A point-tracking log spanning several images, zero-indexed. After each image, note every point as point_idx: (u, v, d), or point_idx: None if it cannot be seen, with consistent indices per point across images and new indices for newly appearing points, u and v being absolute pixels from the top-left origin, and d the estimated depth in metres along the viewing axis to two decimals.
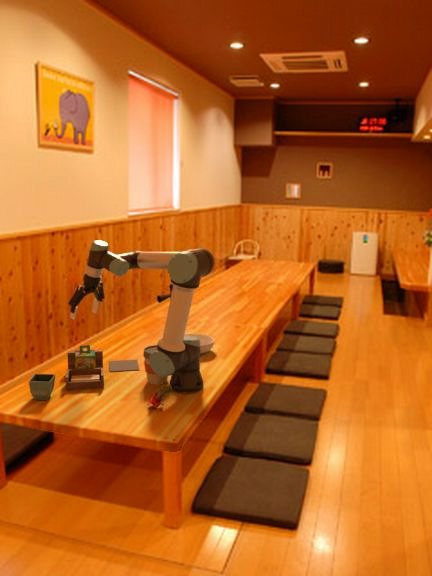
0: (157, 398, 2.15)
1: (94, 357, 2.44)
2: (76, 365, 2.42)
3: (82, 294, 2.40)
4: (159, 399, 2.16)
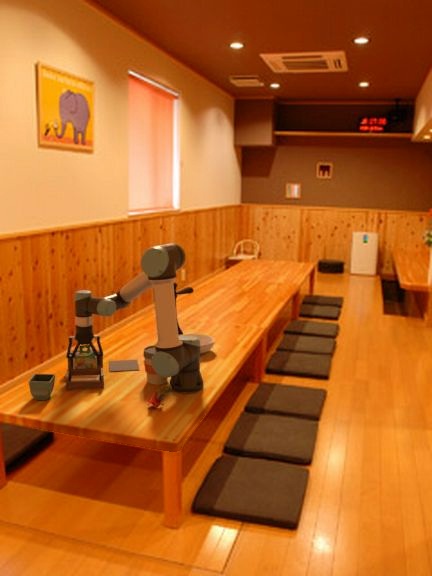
0: (157, 398, 2.15)
1: (94, 357, 2.44)
2: (76, 365, 2.42)
3: (76, 345, 2.44)
4: (159, 399, 2.16)
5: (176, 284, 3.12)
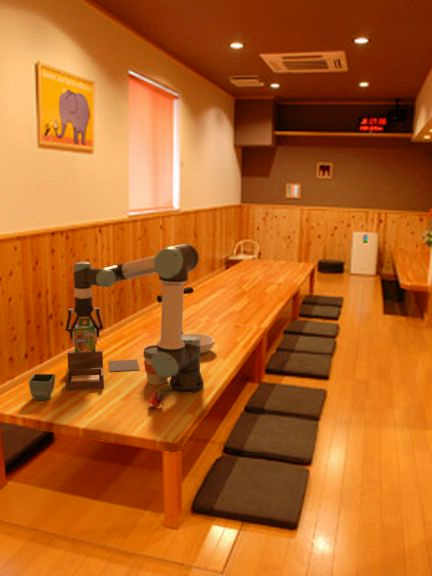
0: (157, 398, 2.15)
1: (94, 329, 2.41)
2: (75, 337, 2.39)
3: (75, 318, 2.42)
4: (159, 399, 2.16)
5: None
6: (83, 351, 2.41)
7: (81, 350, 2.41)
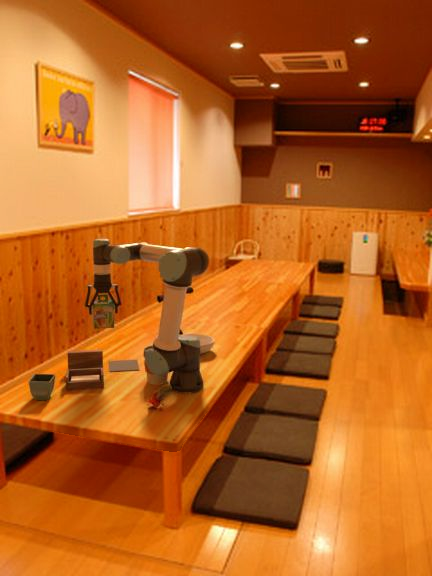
0: (157, 398, 2.15)
1: (113, 305, 2.46)
2: (95, 313, 2.44)
3: (94, 294, 2.46)
4: (159, 399, 2.15)
5: None
6: (102, 326, 2.46)
7: (100, 326, 2.46)
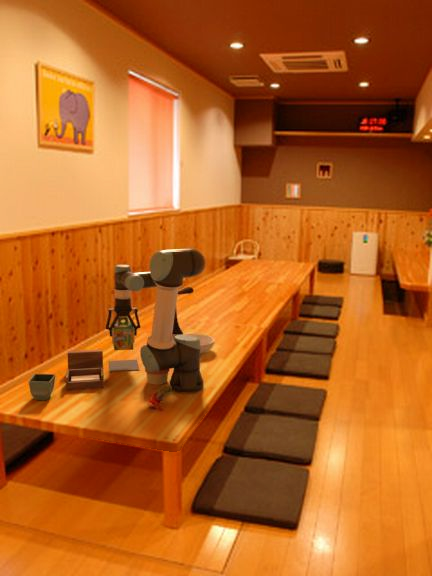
0: (157, 398, 2.15)
1: (132, 328, 2.56)
2: (115, 335, 2.55)
3: (115, 317, 2.57)
4: (159, 399, 2.15)
5: None
6: (122, 348, 2.57)
7: (120, 348, 2.57)
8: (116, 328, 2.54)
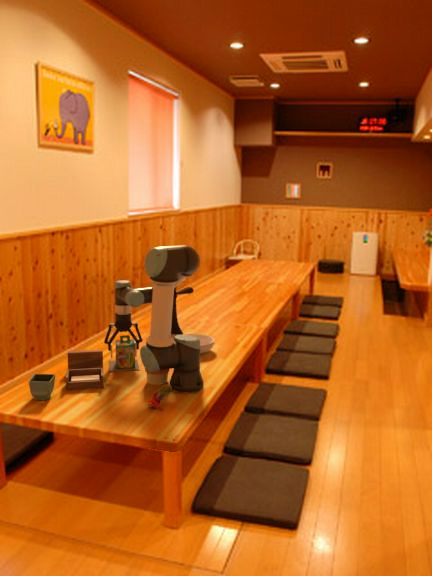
0: (157, 398, 2.15)
1: (134, 346, 2.58)
2: (117, 354, 2.57)
3: (114, 332, 2.58)
4: (159, 399, 2.15)
5: None
6: (124, 366, 2.59)
7: (122, 366, 2.58)
8: (118, 346, 2.56)
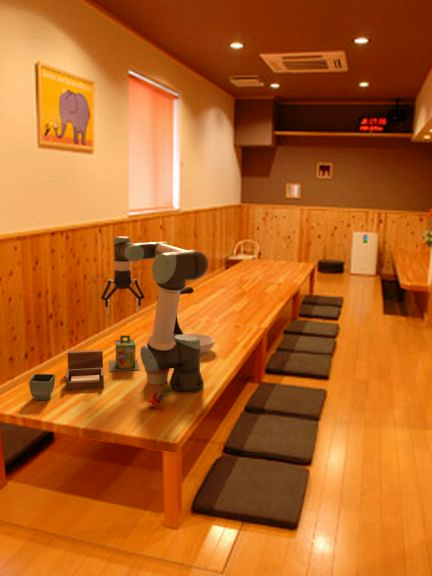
0: (157, 398, 2.15)
1: (134, 346, 2.58)
2: (117, 354, 2.57)
3: (113, 289, 2.54)
4: (159, 399, 2.15)
5: None
6: (124, 366, 2.59)
7: (122, 366, 2.58)
8: (118, 346, 2.56)
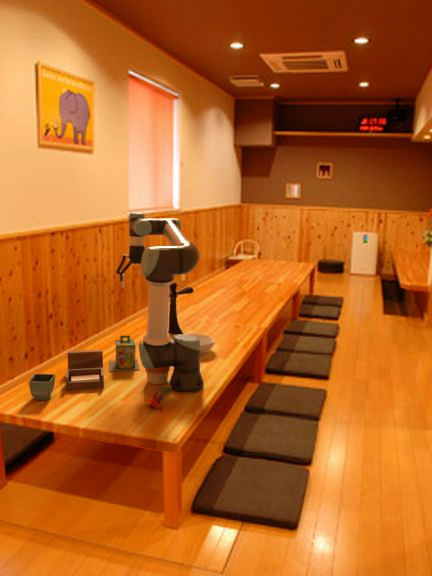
0: (157, 398, 2.15)
1: (134, 346, 2.58)
2: (117, 354, 2.57)
3: (128, 263, 2.62)
4: (159, 399, 2.15)
5: (176, 284, 3.12)
6: (124, 366, 2.59)
7: (122, 366, 2.58)
8: (118, 346, 2.56)
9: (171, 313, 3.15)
